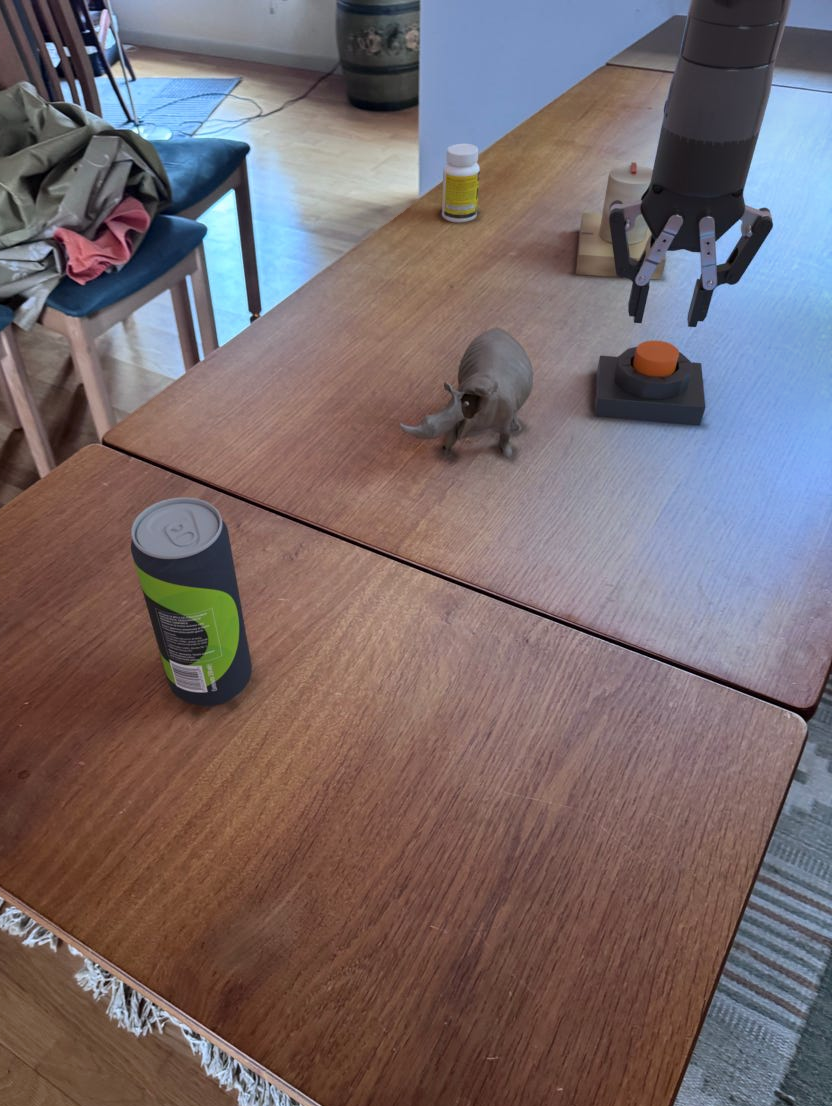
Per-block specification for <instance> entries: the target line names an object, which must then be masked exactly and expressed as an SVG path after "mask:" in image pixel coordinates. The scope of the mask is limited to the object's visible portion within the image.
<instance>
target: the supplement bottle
mask: <svg viewBox="0 0 832 1106" xmlns="http://www.w3.org/2000/svg"><path fill="white" fill-rule="evenodd" d="M445 160H446V163H445V164H444V165H443V168H442V193H441V216H442V218H443V219H444V220H446V221H448V222H450V223H457V224H458V223H466V222H471V221H473V220H474V219H476V218H477V216H478V203H479V190H480V189H479V188H480V176H481V175H480V174H481V167H480V165H479V163H478V160H479V148H478V146H476V145H475V144H470V143H456V144H455V143H454V144H452V145H450V146H448V147H447V149H446V158H445Z"/></svg>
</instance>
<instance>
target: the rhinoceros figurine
mask: <svg viewBox="0 0 832 1106" xmlns="http://www.w3.org/2000/svg"><path fill="white" fill-rule="evenodd" d="M457 385H458V388H457V389H455V388H454V386H452V385H451V383H449V382H447V381H444V382H443V387H444V390H445V391H446V392H449V394H450V395H451V398H450V399H449V400H448V402H447V404H446V405H445V406H444V407H443V408H441V409H440V410H438V411H437V412H435V413H431V414H426V415H424V417H423V419H422V421H421V422H420V423H419V424H417V425H415V426H411V425H405V424H403V423H402V422H399V423H398V426H399V428H400V429H401V430H402V431H403V432H404V433H405V434H407V435H412V436H414V437H415V438H416V439H421V440H435V439H438V438H441V437H442V436H443V435H444V434H445V436H444V440H443V445H442V451H443V452H442V456H443V457H445V458H447V457H449V458H452V457H455V456H454V453H453V451H452V447H454V445H455V444H456V442H457V441H459V442H460V441H461V440H463V439H467V438H471V437H475V436H478V435H482V434H483V435H484V434H485V433H487V432H496V433H498V434H499V435H498V447H499V448H501V450H502V452H501V455H502V456H504V457H506V458H509V459H510V458H511V457H512V456H513V449H512V446H511V442H510V439H511V437H512V436H511V431H514V430H517V432H519V431H520V430H521V429H522V428H523V427H522V425H521V422H520V421H519V419H518V415H517V413H518V412H519V411H520V410H521V409H522V407H523V406H524V405H525V403H526V402H527V401H528V399H529V397H530V395H531V393H532V389H533V386H534V370H533V365H532V362H531V359H530V357H529V355H528V353H527V351H526V350H525V348H524V347H523V346H522V344H521V343H520V342H519V341H518V340H517V339H516V338H515V337H513V336H512V335H511V334H510V333H509V332H508V331H506V330H505V329H503V328H501V327H493V328H490V329H488V330H486V331H483V332H481V333H480V334H479V335H478V336H476V337H474V339H473V340H472V341H471V342H470V343H469V344H468V346H467V347H466V349H465V350H464V353H463V355H462V358H461V359H460V363H459V366H458V373H457Z"/></svg>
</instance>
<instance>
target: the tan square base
mask: <svg viewBox="0 0 832 1106" xmlns="http://www.w3.org/2000/svg"><path fill="white" fill-rule="evenodd" d="M601 219H602V213H595V212H582V213H581V220H580V227H579V235H578V245H577V246H578V247H577V257H576V268H575V275H579V276H580V275H582V276H583V275H584V276H585V275H586V276H596V277H597V276H598V277H611V278H612V277H614V278H619V277H618V276H617V274H616V268H615V261H614V253H613V246H612V243H611V242H608V241H606V240H604V239H602V238H601V237H600V235H599V231H600V225H601ZM650 235H651V231H650V230H649V228H648V230H647V235H646V238H645V239H644V240H643V241H641V242H639V243H636V244H629V253H630V257H631V258H633V259H635V260H639V258H640V256H641V254H642V253H643V251H644V249H645V246H646V243H647V241H648V239H649V237H650ZM666 253H667V252H666ZM666 253H665V255H664V257H663V259H662V261H661V262H660V264H659V265H657V267H656V269H655V271H654V272H653V274H652V276H651V278H650V280H662V279H663V275H664V270H665V265H666V260H667V258H666V257H667V255H666Z"/></svg>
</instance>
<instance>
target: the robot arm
mask: <svg viewBox="0 0 832 1106" xmlns="http://www.w3.org/2000/svg"><path fill="white" fill-rule="evenodd" d="M791 3H792V0H690V1H689V6H688V11H687V15H686V20H685V25H684V30H683V35H682V40H681V45H680V49H679V51H680V52H679V54H678V59H677V61H676V66H675V68H674V71H673V74H672V77H671V80H670V85H669V88H668V93H667V98H666V100H665V103H664V107H663V118H662V123H661V128H660V132H659V138H658V142H657V147H656V153H655V158H654V163H653V168H652V169H653V172H652V177H651V182H650V185H649V187H648V189H647V190H646V191H645V193H644V194H643V195H642V198H641V200H637V201H633V202H628V203H624V204H623V202H622V201H620V200H615V201H613V202H612V203H611V204H610V208H609V223H610V231H611V238H612V246H613V253H614V261H615V268H616V274H617V276H618V277H617V278H621V279H623V278H626V279H628V280H630V281H631V282H632V284H631V287H630V288H631V289H630V294H629V299H628V303H627V305H628V306H627V312H628V316H629V317H633V323H634V324H642V323H643V318H644V315H645V310H646V305H647V300H648V296H649V291H650V280H651V279H650V278H651V276H652V274H653V272H654V271H655V269H656V267H657V265H659V264H660V262H661V261H662V259H663V257H664V255H665V253H667V252H675V251H680V250H685V251H687V252H691V253H699V256H700V257H699V258H700V259H699V260H700V272H701V273H700V276H699V278H696V280H695V284H694V290H693V293H692V297H691V301H690V304H689V308H688V312H687V317H686V318H687V319H686V320H687V327H688V328H697V326H698V323H699V322H704V321H705V319H706V318H707V316H708V312H709V309H710V305H711V302H712V297H713V294H714V292H715V290H716V288H717V287H719V286H721V285H726V284H727V285H729V286H733V285H736V284H738V283H739V282H740V280H741V278H742V277H743V275H744V274H745V272H746V271H747V269H748V268H749V266H750V264H751V263H752V261H753V260H754V258H755V256H756V255H757V253H758V252H759V250H760V249H761V247H762V245H763V244H764V242H765V241H766V239H767V238H768V236H769V234H770V233H771V232H772V230H773V228H774V222H773V216H772V213H771V210H770V209H769V208H767V207H761V208H759V209H757V208H755V207H752V206H749V205H747V204H746V203H745V198H744V191H745V187H746V183H747V179H748V176H749V172H750V168H751V165H752V161H753V157H754V154H755V151H756V147H757V143H758V139H759V136H760V133H761V130H762V129H761V128H762V126H763V122H764V118H765V114H766V110H767V106H768V102H769V99H770V94H771V89H772V85H773V84H772V83H773V78H774V69H775V65H776V61H777V56H778V54H779V50H780V45H781V42H782V39H783V35H784V32H785V27H786V24H787V20H788V16H789V12H790V8H791ZM641 214H642V216H643V218H644V220H645V222H646V224H647V226H648V228H649V230H650V231H651V235H650V237H649V239H648V241H647V243H646V246H645V249H644V251H643V253H642V254H641V256H640V258H639V260H635V259H633V258H631V257H630V253H629V245H628V237H627V231H629V230H631V229H632V228H633V227H634V224H635V219H636V218H637V216H639V215H641ZM739 221H741V224H740V234H741V236H740V238H739V240H737V242H736V244H735V246H734V248H733V249H732V251H731V253H730V254H729V256H728V257H727V259H726V260H725V262H724V263H721V264H717V249H716V244H717V243H716V242H718V240H720V239H721V238H722V237H723V236H724V235H725V234H726V233H727V232H728V231H729V230H730V229H732V227H734V226H735V224H737V223H738V222H739Z"/></svg>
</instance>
